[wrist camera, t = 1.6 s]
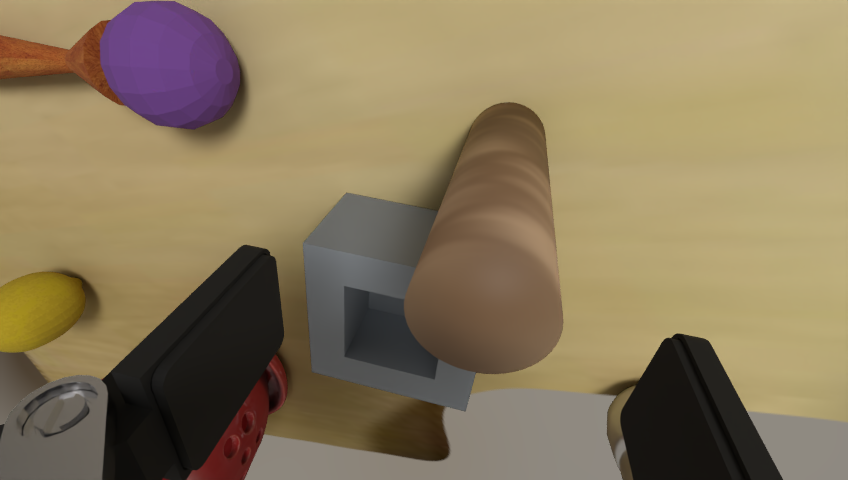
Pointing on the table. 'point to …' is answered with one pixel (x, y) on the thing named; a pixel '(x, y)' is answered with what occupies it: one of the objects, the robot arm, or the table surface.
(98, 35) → the purple maraca
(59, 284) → the lemon
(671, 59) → the table surface
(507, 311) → the peg
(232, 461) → the plant pot
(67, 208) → the table surface
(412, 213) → the socket
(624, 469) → the plastic bottle
